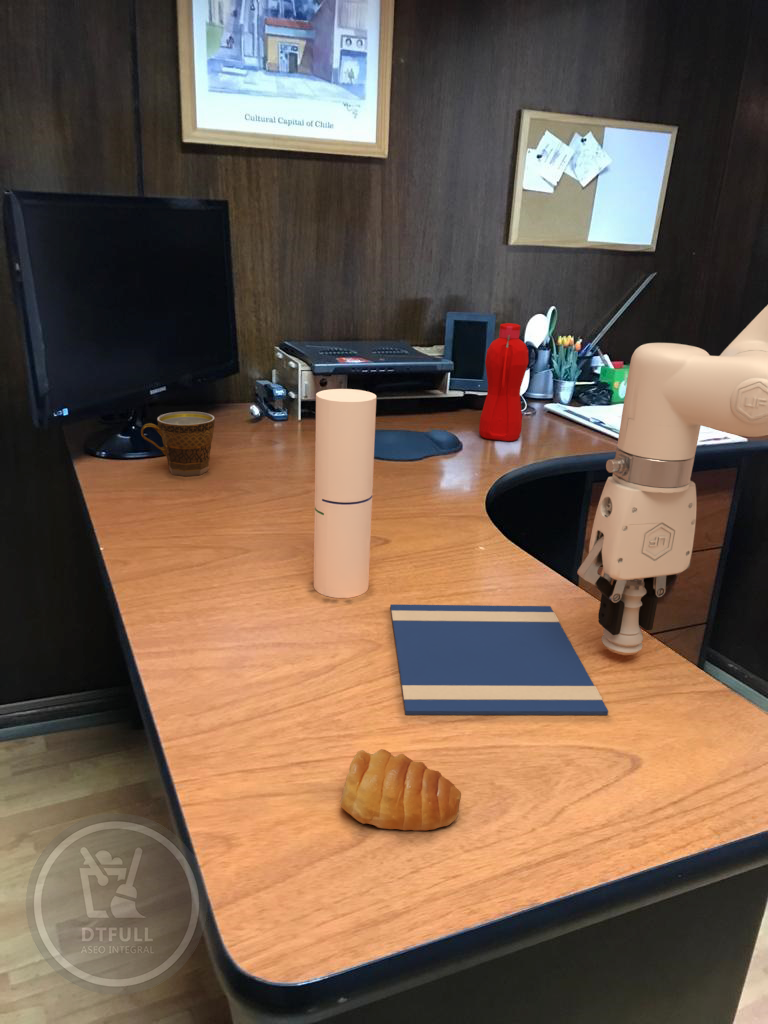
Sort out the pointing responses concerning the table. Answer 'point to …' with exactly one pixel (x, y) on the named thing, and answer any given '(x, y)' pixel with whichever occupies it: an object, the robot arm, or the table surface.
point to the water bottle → (504, 385)
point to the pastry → (398, 793)
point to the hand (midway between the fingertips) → (625, 625)
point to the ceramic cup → (185, 441)
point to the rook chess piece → (628, 622)
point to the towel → (489, 662)
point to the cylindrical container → (343, 491)
